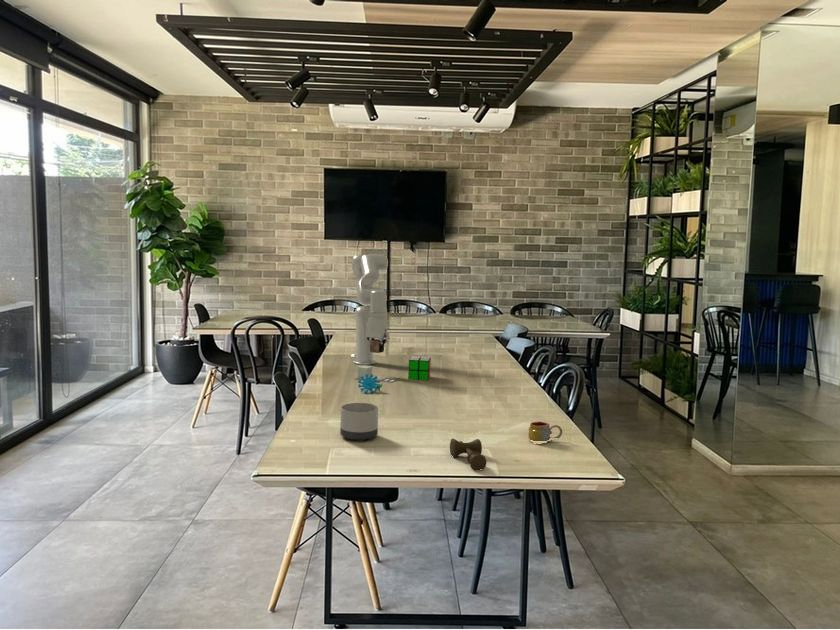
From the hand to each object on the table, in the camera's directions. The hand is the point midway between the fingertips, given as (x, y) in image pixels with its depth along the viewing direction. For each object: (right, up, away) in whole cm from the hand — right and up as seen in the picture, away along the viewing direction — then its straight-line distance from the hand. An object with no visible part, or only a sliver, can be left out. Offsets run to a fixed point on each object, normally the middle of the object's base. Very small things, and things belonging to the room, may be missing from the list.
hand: (376, 351), depth 319 cm
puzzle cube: (+21, -14, -1) cm, 25 cm away
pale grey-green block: (-5, -13, -8) cm, 16 cm away
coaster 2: (+7, -14, -10) cm, 18 cm away
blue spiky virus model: (-1, -17, -33) cm, 37 cm away
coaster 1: (-5, -13, -8) cm, 17 cm away
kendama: (+37, -28, -118) cm, 127 cm away
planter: (0, -24, -99) cm, 102 cm away
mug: (+65, -26, -97) cm, 120 cm away
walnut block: (0, 0, 0) cm, 1 cm away
